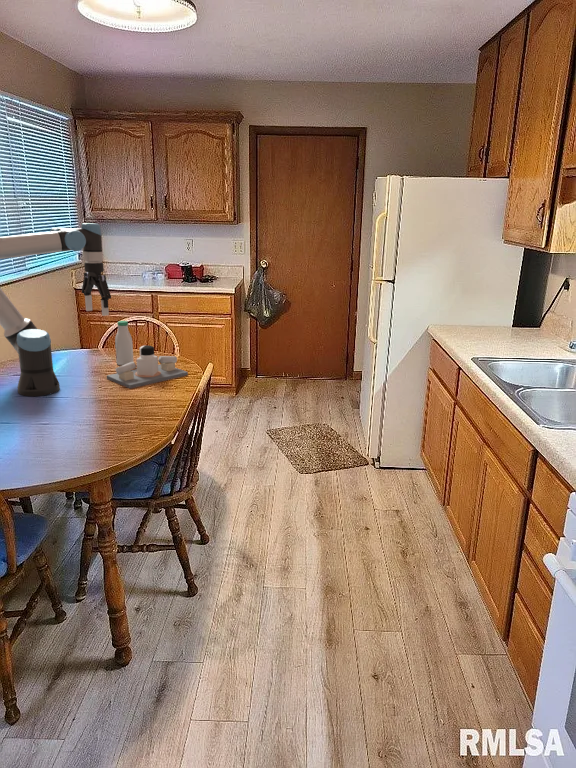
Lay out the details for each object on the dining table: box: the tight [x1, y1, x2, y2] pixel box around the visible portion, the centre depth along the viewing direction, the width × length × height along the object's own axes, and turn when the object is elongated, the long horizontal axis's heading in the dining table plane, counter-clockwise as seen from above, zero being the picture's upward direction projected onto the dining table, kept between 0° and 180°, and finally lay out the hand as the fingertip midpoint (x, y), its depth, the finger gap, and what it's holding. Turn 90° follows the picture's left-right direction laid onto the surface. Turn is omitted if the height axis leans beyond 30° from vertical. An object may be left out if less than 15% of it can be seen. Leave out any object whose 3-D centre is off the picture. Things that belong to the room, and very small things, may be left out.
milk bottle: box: [114, 320, 134, 366], centre depth 256 cm, size 8×8×20 cm
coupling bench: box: [106, 355, 189, 390], centre depth 239 cm, size 29×18×8 cm, turn 137°
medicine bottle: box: [136, 344, 159, 376], centre depth 238 cm, size 7×7×12 cm
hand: (97, 313), depth 236 cm, fingers open, 13 cm apart
